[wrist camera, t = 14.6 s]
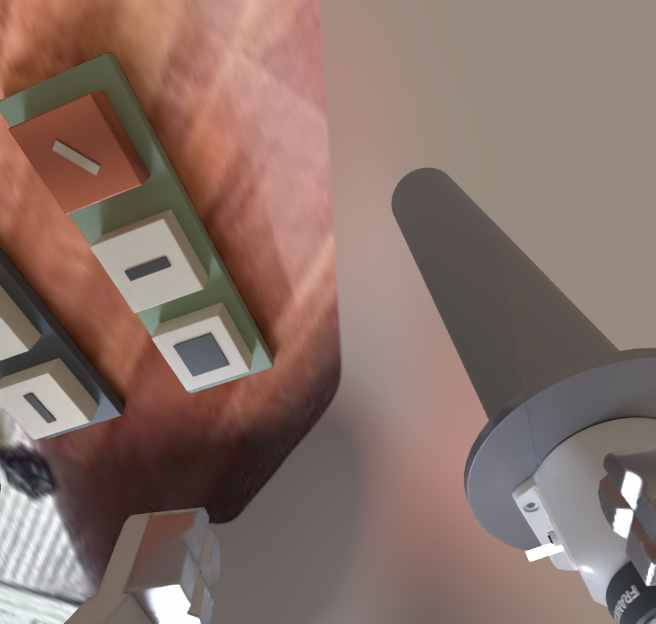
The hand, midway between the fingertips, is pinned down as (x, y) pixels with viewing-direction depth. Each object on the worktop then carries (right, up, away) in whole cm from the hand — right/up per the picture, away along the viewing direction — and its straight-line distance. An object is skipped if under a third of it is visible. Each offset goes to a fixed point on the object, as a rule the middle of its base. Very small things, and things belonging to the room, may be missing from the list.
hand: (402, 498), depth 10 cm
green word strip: (-13, +8, +22) cm, 26 cm away
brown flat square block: (-15, +13, +17) cm, 26 cm away
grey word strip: (-25, +4, +24) cm, 34 cm away
